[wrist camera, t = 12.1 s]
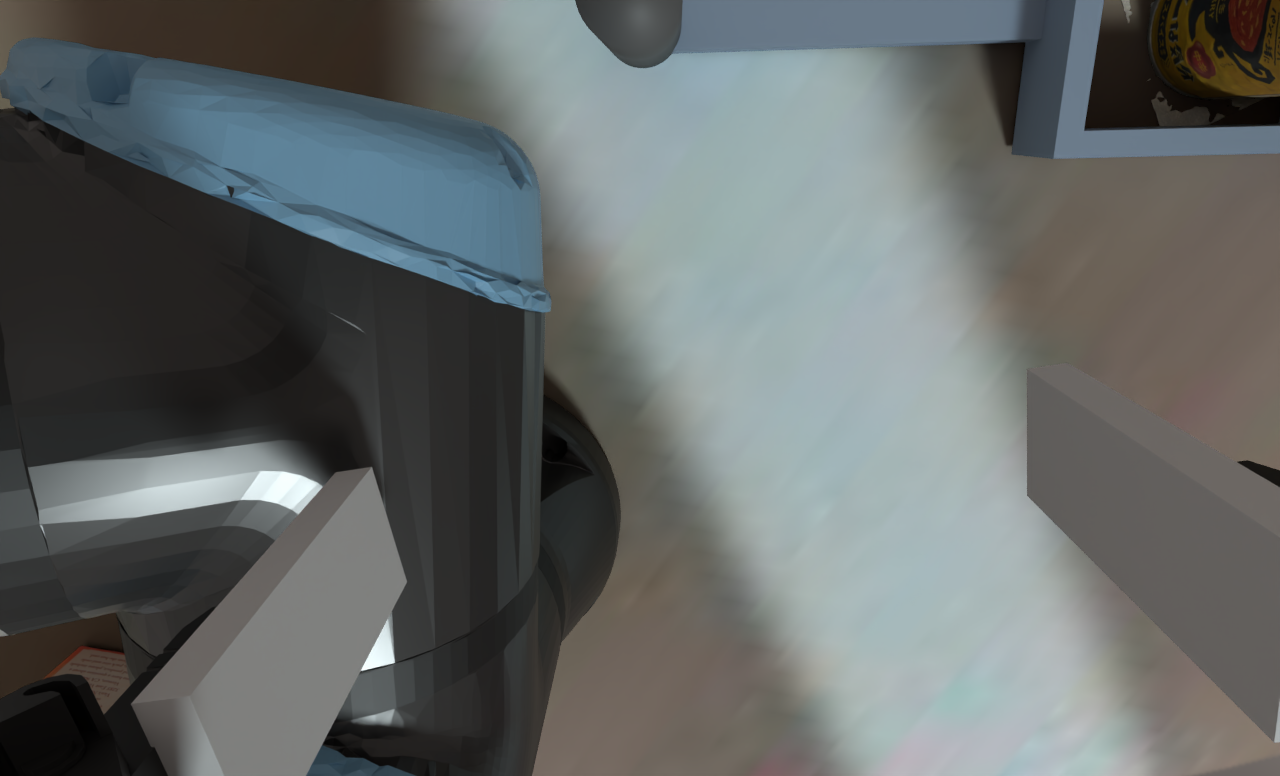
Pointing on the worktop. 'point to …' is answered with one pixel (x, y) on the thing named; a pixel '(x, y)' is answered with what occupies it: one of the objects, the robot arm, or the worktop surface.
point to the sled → (917, 16)
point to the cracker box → (98, 673)
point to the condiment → (1213, 53)
